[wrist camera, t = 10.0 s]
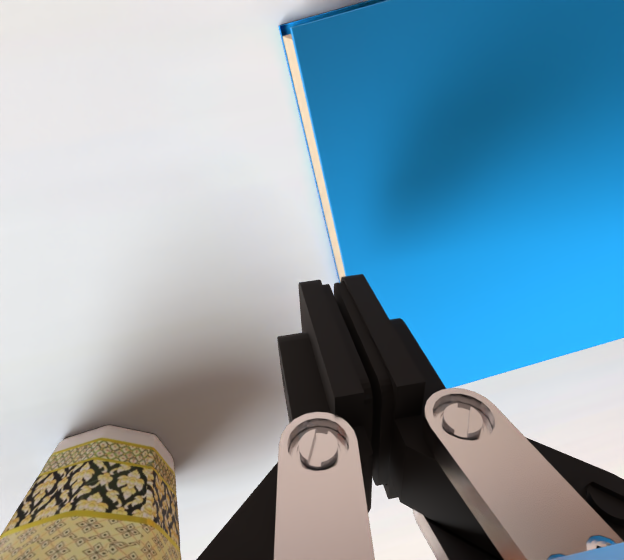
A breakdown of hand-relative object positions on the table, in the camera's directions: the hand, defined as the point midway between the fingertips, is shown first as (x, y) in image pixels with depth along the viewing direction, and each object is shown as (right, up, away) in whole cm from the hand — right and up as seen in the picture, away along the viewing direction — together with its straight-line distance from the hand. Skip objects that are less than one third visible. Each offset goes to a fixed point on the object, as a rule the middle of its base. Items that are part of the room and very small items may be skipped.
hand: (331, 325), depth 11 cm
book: (+12, +7, +8) cm, 16 cm away
